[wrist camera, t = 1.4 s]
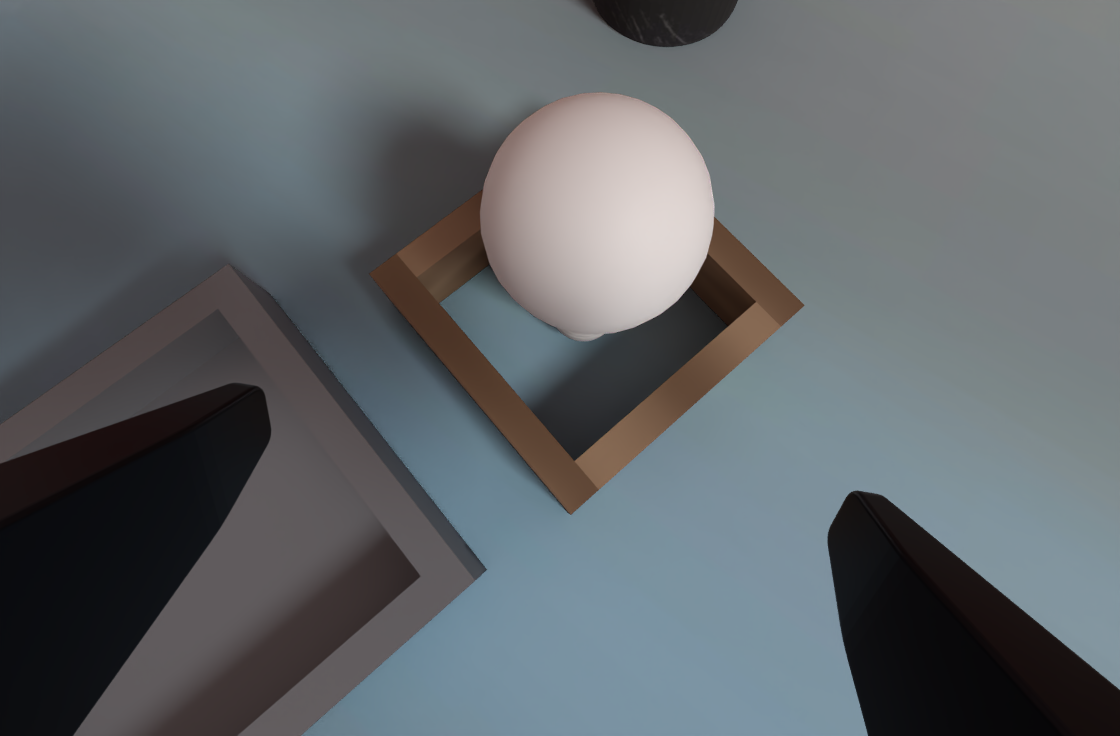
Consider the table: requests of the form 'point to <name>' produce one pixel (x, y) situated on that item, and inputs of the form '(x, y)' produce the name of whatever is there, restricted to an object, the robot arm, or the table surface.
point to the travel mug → (666, 19)
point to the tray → (263, 528)
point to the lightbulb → (597, 214)
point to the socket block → (416, 291)
